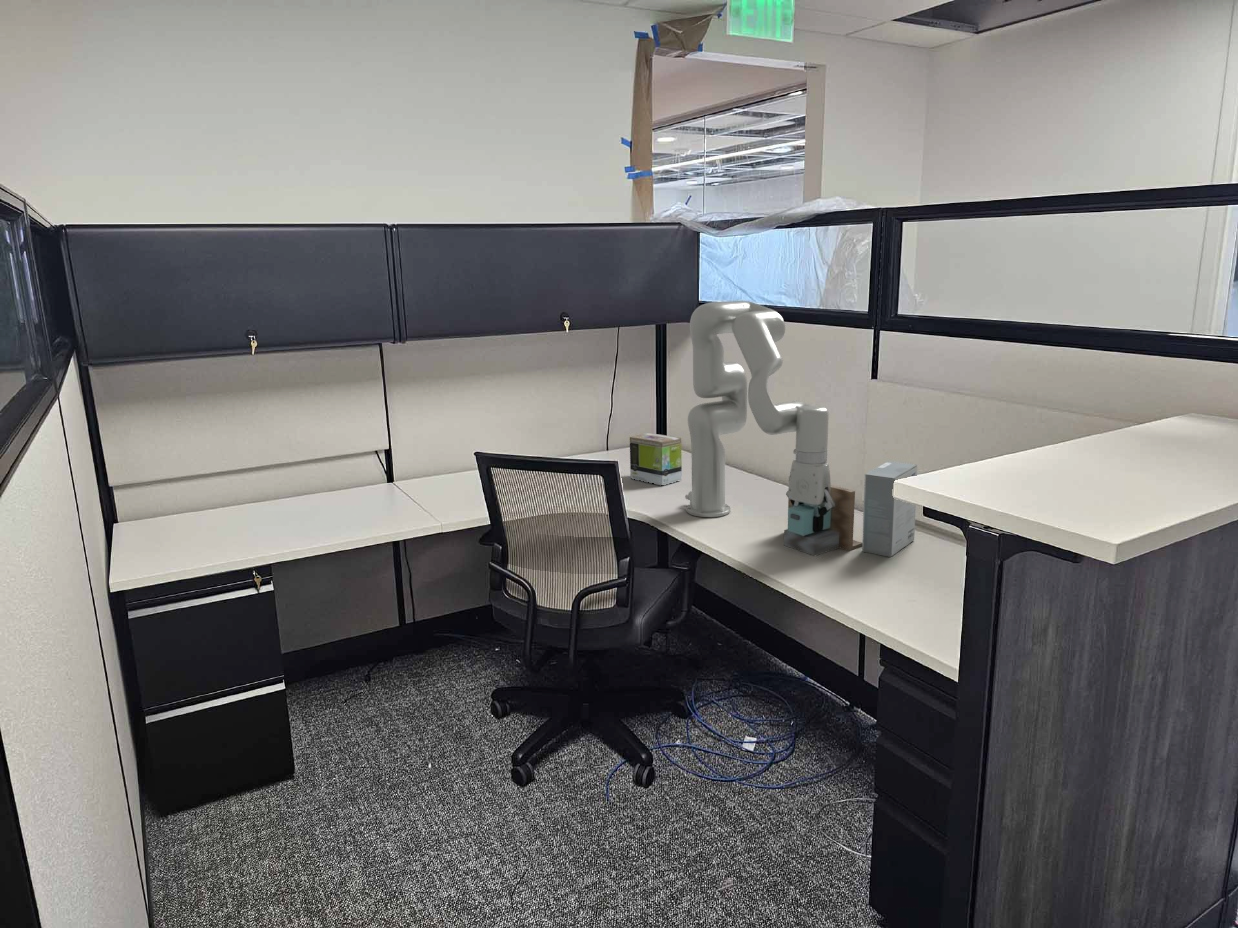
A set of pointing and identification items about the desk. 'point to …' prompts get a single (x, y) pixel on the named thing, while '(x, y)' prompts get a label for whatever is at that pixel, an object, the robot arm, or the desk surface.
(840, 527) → the wall board
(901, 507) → the hard drive box
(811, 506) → the cabinet block
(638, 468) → the tea box
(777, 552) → the desk surface
